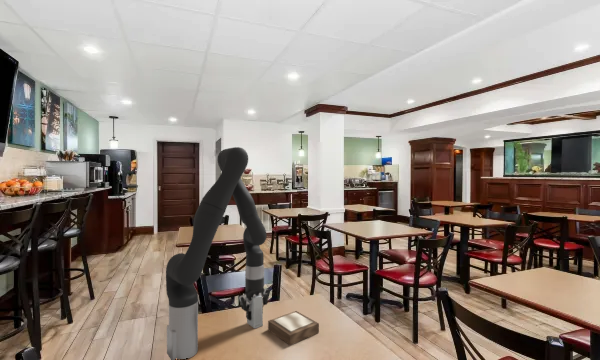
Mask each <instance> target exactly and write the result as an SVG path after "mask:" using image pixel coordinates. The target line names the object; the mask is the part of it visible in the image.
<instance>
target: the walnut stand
mask: <svg viewBox="0 0 600 360" xmlns="http://www.w3.org/2000/svg"><path fill="white" fill-rule="evenodd" d="M267 325H268V326H267V331H269V332H270V333H272V334H273V335H275V336H276V337H277V338H279V339H280V340H282V341H283V342H284V343H286V344H287V345H289V346H292V345H294V344H296V343H298V342H301V341H304V340H305V339H308V338H310V337H312V336H315V335H317V334H319V333H320V324H319V322H317V321H315V320H313V319H311V318H309V317H308V316H306V315H305V314H303V313H301V312H299V311H297V310H295V311H292V312H290V313H287V314H284V315H280V316H277V317H275V318H273V319H269V320H267Z"/></svg>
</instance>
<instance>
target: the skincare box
mask: <svg viewBox="0 0 600 360" xmlns="http://www.w3.org/2000/svg"><path fill="white" fill-rule="evenodd" d="M262 298H263V295H262V296H258V295H257V296H256V297H253V298H252V297H251V299H252V306H251V320H248V319H247V318H246V324H248V325H249V326H250V327H252V328H253V329H258V328H260V327H263V326H264V322H263V321H264V320H263V319H264V318H263V315H264V312H263V311H264V310H263V311H262ZM245 299H246V300H245V302H246V301H247V297H246V298H245ZM248 301H249V300H248ZM249 302H251V301H249Z"/></svg>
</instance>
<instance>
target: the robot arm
mask: <svg viewBox="0 0 600 360" xmlns="http://www.w3.org/2000/svg"><path fill="white" fill-rule="evenodd" d="M216 160H217V164H218V168H219V169H220V172H221V173H220V175H219V177H218V178H217V180H216V181H215V183H213V185H212V186H211V187H210V188H209V189H208V190H207V192H206V193H204V196H203V197H202V199H201V200H200V203H199V205H198V207H197V209H196V212H195V214H194V216H193V217H194V218H193V224H192V237H191V240H190V243H189V246H188V248H187V250H186V252H185V253H182V252H181V253H176V254H174V255H173V256H171V257H170V258H169V260H168V262H167V264H166V267H165V287H166V288H165V289H166V297H167V299H168V325H167V326H166V354H167V355H168V357H169V358H170V360H175V359H176V358H177V359H185V360H187V359H186V358H188V359H190V358H193V357H194V356H196V354H197V353H198V350H199V324H198V323H199V320H198V319H199V295H198V291H197V289H196V288H195V285H194V284H195V283H196V282H197V281H199V278H200V276H201V275H202V273H203V269H204V268H205V263H206V260H207V258H208V253H209V252H210V248H211V245H212V243H213V241H214V239H215V236H216V234H217V232H218V229H219V226H220V225H221V222H222V220H223V217H224V216H225V213H226V211H227V208H228V204H229V203H230V201H231V198H232V197H233V199H234V202H235V205H236V208H237V212H238V215H239V219H240V221H241V222H242V223H243V224H244V225H245V226H246V227H245V229H244V231H243V235H242V241H243V244H244V245H243V246H244V251H245V271H244V272H245V275H244V278H245V281H244V283H245V285H244V286H245V291H244V294H242V295H238V301H239V305H240V307H241V309H242V311H244V312H245V317H246V320H247V319H248V320H251V306H252V299H251V297H252V298H253V297H256V296H257V295H258V296H262V311H264V306H267V305H268V302H269V298H270V293H271V290H270V289H269V288H264V287H265V266H264V252H263V250H262V248H261V247H260V246H262V245H263V244H264V243H265V242H266V240H267V230H266V228H265V227H266V226H264V224H263V222H262V219H261V218H260V216H259V213H258V210H257V206H256V204H255V200H254V198H253V196H252V194H251V193H250V192H249V190H248V188H247V187H246V185H245V183H244V182H243V179H242V176H243V174H244V172H245V170H246V169H247V166H248V164H249V155H248V152H247V151H246V149H244V148H243V147H239V146H238V147H236V146H235V147H230V148H225V149H222V150H221V151H220V152H219V153H218V155H217V159H216ZM246 297H247V301H246ZM248 300H249V301H251V302H249V301H248Z"/></svg>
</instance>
